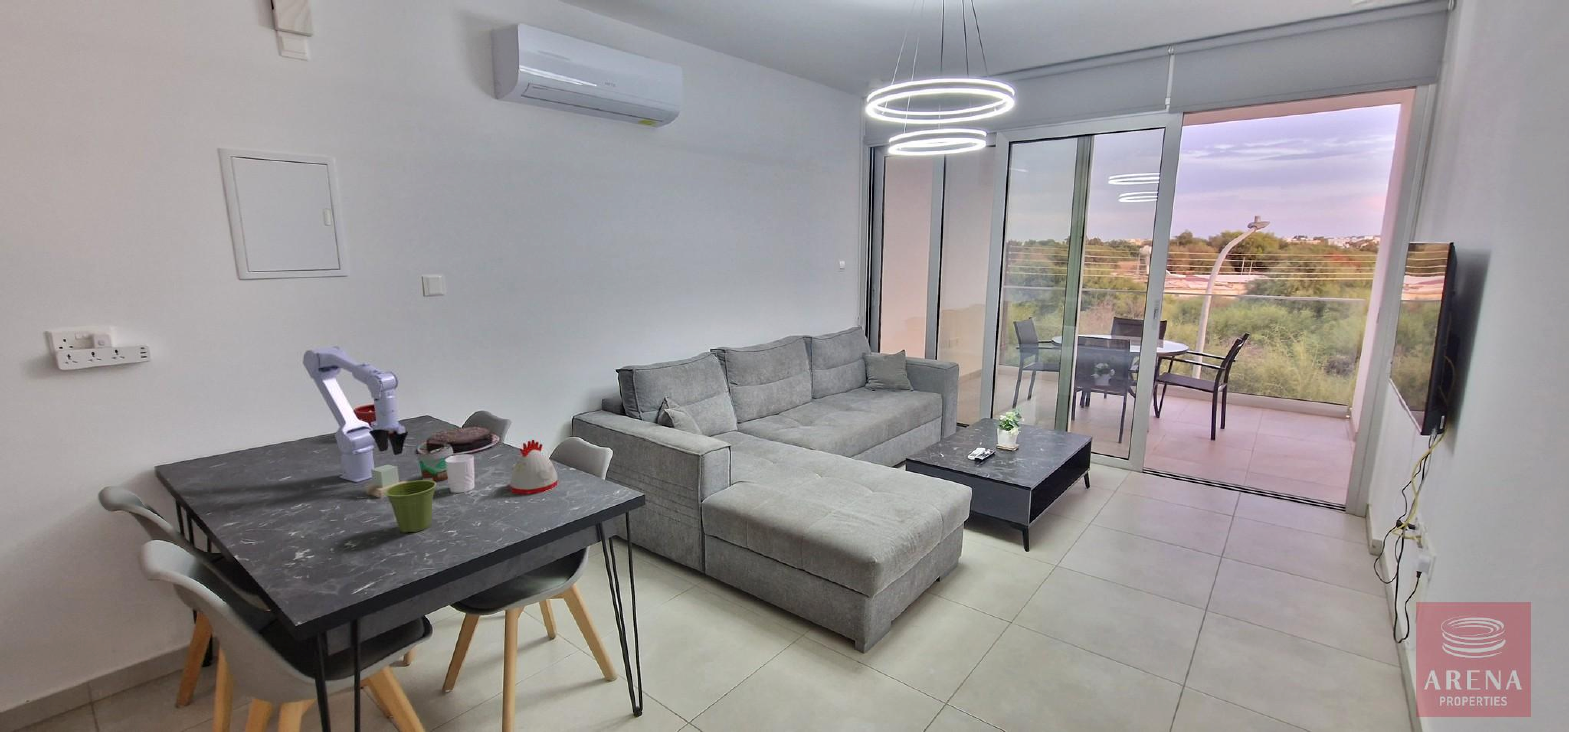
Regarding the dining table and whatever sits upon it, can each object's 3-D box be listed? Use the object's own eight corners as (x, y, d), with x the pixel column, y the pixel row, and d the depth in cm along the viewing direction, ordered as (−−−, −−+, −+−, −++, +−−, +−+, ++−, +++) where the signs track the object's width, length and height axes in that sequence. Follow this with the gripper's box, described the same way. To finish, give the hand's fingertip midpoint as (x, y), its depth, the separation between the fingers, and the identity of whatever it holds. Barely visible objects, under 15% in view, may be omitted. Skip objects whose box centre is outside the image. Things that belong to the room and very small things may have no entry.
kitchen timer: (500, 489, 193) (496, 443, 191) (535, 475, 206) (532, 432, 203) (533, 497, 188) (529, 449, 185) (567, 482, 200) (564, 437, 197)
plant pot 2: (450, 520, 171) (446, 481, 169) (416, 539, 160) (411, 497, 158) (414, 516, 174) (410, 477, 172) (378, 534, 162) (373, 493, 160)
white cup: (482, 486, 196) (479, 456, 194) (460, 495, 189) (456, 463, 187) (464, 482, 199) (461, 452, 198) (442, 491, 192) (439, 460, 191)
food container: (436, 486, 197) (433, 455, 195) (419, 484, 198) (416, 454, 196) (464, 472, 208) (461, 444, 207) (447, 471, 210) (445, 443, 208)
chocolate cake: (409, 446, 239) (407, 429, 237) (486, 432, 257) (484, 416, 256) (428, 464, 218) (426, 446, 217) (510, 447, 237) (509, 430, 236)
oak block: (366, 494, 191) (365, 485, 190) (392, 486, 198) (391, 477, 197) (381, 499, 187) (380, 490, 186) (408, 490, 194) (407, 481, 193)
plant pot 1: (348, 440, 245) (344, 410, 243) (375, 430, 258) (371, 402, 256) (377, 441, 243) (374, 411, 241) (403, 432, 256) (400, 404, 254)
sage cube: (372, 484, 191) (371, 469, 190) (389, 479, 195) (387, 464, 194) (382, 487, 189) (380, 471, 188) (399, 482, 193) (397, 466, 192)
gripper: (359, 411, 196) (364, 452, 198) (387, 416, 189) (392, 459, 192) (382, 406, 202) (386, 446, 204) (409, 411, 195) (414, 452, 198)
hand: (390, 452), depth 198 cm, fingers open, 7 cm apart
